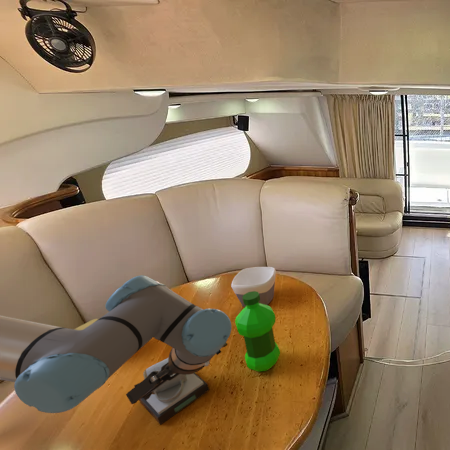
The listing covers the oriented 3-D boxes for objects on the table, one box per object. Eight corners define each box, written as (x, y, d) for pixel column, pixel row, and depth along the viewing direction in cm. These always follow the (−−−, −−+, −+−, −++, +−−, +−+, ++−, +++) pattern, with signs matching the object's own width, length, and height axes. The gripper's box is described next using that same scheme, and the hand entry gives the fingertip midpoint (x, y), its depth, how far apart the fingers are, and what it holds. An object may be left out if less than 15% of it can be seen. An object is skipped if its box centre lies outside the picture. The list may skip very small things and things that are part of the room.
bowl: (245, 290, 133) (240, 267, 129) (282, 287, 135) (279, 265, 131) (231, 312, 119) (225, 287, 115) (273, 309, 121) (268, 285, 117)
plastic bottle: (239, 367, 94) (222, 297, 85) (271, 347, 102) (258, 281, 93) (257, 384, 89) (241, 311, 80) (289, 361, 96) (278, 293, 87)
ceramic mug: (149, 384, 85) (140, 362, 82) (184, 368, 90) (177, 347, 87) (154, 411, 77) (144, 389, 74) (192, 392, 82) (185, 370, 79)
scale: (160, 425, 77) (157, 416, 76) (139, 401, 83) (136, 392, 82) (209, 390, 87) (207, 381, 86) (187, 371, 93) (185, 363, 92)
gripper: (128, 414, 54) (121, 428, 67) (257, 331, 73) (233, 355, 86) (106, 377, 54) (104, 399, 67) (240, 305, 74) (218, 332, 87)
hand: (176, 374), depth 77 cm, fingers open, 13 cm apart
